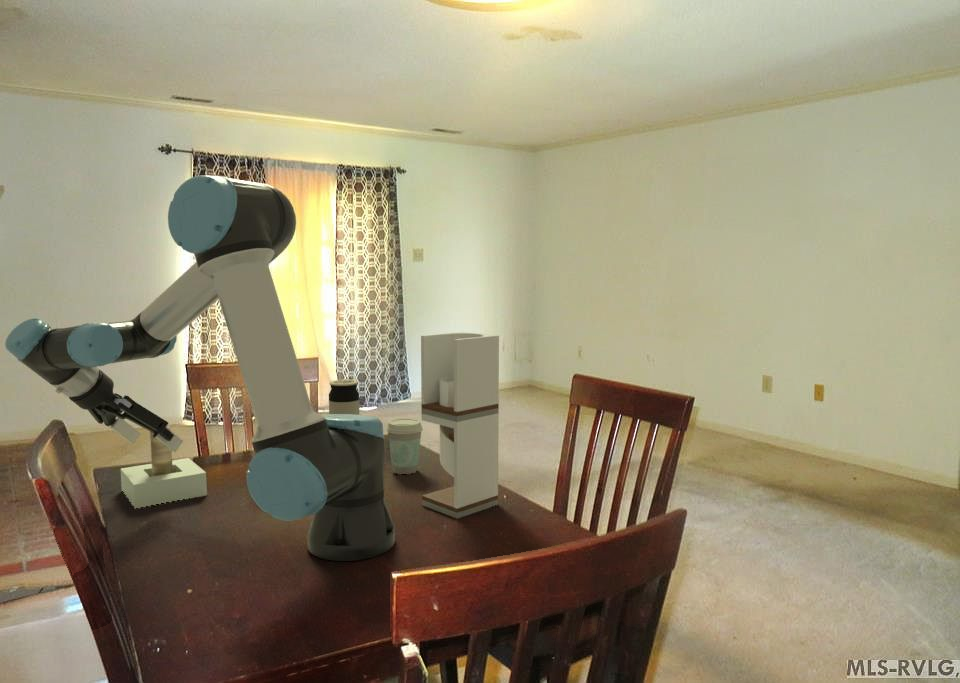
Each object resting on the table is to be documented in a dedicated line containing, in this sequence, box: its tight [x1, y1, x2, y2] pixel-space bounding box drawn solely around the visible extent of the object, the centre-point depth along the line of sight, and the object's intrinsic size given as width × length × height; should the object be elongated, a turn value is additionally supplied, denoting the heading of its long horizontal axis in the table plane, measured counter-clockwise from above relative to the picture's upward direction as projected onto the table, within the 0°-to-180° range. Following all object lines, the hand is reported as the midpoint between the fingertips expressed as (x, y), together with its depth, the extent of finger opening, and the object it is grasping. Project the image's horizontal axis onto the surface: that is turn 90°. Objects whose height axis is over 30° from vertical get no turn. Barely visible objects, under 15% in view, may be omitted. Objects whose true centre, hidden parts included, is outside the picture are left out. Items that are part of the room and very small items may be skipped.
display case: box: [420, 331, 500, 519], centre depth 141 cm, size 11×11×35 cm
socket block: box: [120, 457, 208, 510], centre depth 150 cm, size 14×14×5 cm
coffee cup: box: [386, 418, 423, 475], centre depth 166 cm, size 8×8×12 cm
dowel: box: [149, 425, 173, 477], centre depth 149 cm, size 4×4×14 cm
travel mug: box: [328, 379, 360, 415], centre depth 186 cm, size 8×8×18 cm
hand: (157, 442), depth 148 cm, fingers open, 13 cm apart
